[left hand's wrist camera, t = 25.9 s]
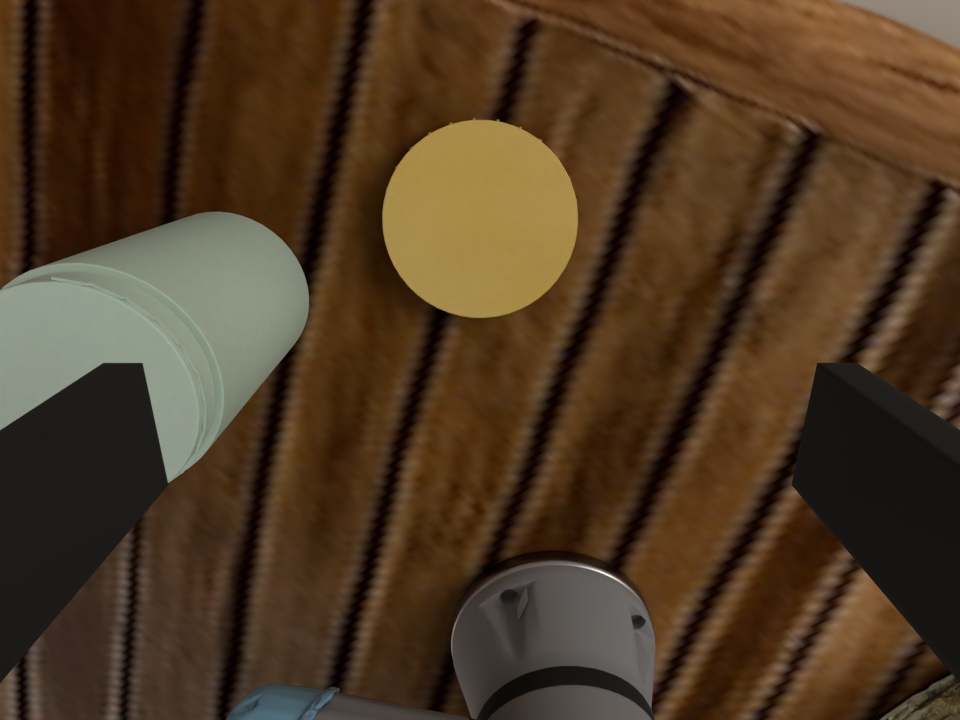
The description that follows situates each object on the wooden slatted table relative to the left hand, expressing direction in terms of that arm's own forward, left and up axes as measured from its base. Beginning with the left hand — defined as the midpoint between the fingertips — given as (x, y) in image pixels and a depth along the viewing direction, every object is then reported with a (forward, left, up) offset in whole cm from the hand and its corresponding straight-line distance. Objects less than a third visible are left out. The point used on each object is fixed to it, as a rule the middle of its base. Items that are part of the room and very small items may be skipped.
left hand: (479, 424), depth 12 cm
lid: (0, 0, -25) cm, 25 cm away
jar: (-8, +14, -26) cm, 31 cm away
